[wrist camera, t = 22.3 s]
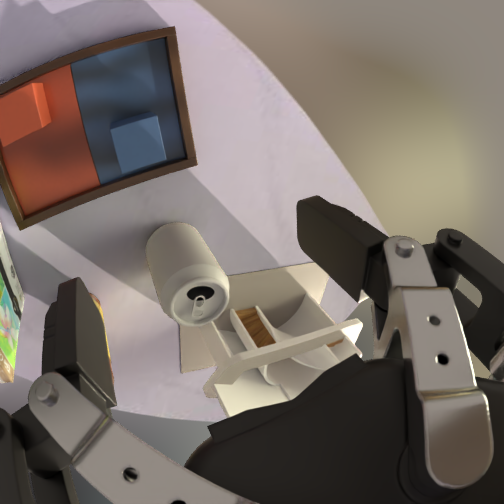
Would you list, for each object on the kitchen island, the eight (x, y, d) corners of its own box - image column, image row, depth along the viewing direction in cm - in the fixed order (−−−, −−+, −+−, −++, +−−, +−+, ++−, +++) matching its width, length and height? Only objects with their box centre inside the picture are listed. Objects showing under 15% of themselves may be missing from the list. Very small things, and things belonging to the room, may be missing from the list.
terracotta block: (6, 100, 19) (-9, 103, 16) (42, 82, 21) (32, 82, 17) (15, 138, 22) (2, 147, 19) (51, 121, 23) (42, 127, 20)
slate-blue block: (109, 123, 27) (109, 129, 23) (151, 111, 28) (157, 115, 24) (120, 162, 29) (121, 174, 26) (159, 149, 31) (166, 159, 27)
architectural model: (334, 258, 54) (428, 344, 36) (306, 340, 64) (370, 419, 47) (179, 283, 42) (250, 430, 24) (181, 373, 52) (231, 484, 35)
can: (206, 222, 39) (245, 274, 30) (193, 271, 42) (225, 331, 33) (149, 216, 35) (170, 272, 26) (140, 269, 38) (158, 334, 29)
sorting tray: (-19, 98, 18) (-25, 99, 17) (171, 28, 24) (175, 26, 23) (23, 224, 27) (19, 231, 26) (194, 161, 34) (198, 165, 32)
